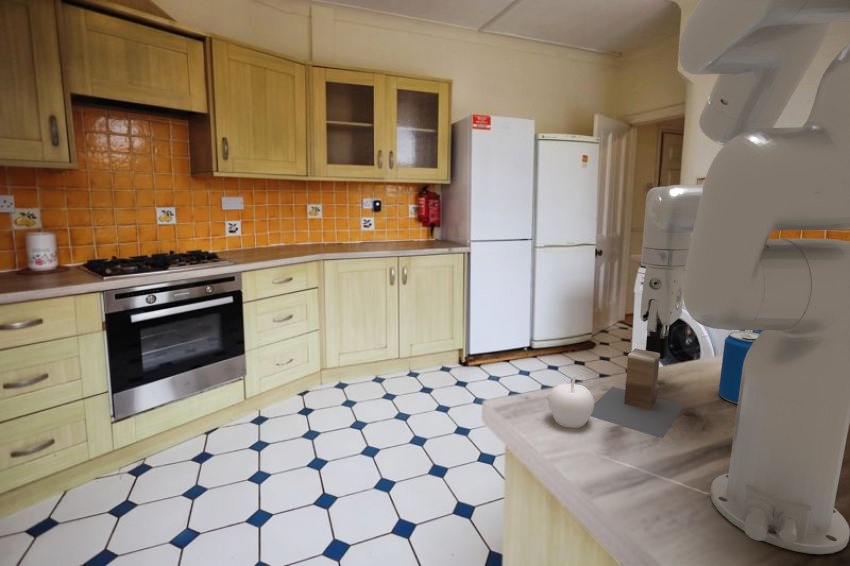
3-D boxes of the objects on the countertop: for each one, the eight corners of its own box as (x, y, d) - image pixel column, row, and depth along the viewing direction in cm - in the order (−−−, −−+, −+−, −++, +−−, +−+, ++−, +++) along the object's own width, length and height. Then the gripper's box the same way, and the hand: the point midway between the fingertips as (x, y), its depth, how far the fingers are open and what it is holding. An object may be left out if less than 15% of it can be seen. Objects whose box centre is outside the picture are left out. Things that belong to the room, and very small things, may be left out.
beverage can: (724, 406, 79) (732, 339, 76) (713, 391, 85) (720, 329, 82) (768, 411, 77) (778, 343, 74) (753, 395, 83) (762, 331, 81)
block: (648, 410, 77) (653, 359, 75) (624, 403, 79) (628, 354, 77) (655, 402, 80) (660, 353, 78) (631, 396, 82) (635, 348, 80)
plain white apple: (602, 427, 72) (606, 380, 71) (569, 438, 69) (571, 389, 67) (570, 409, 78) (572, 365, 77) (538, 419, 75) (540, 373, 74)
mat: (662, 440, 68) (662, 438, 68) (583, 415, 76) (583, 413, 76) (683, 407, 79) (683, 404, 78) (612, 388, 86) (612, 386, 86)
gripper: (678, 265, 73) (667, 373, 76) (697, 254, 84) (687, 350, 87) (629, 261, 77) (621, 363, 81) (653, 251, 88) (645, 342, 92)
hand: (655, 356), depth 84 cm, fingers closed
